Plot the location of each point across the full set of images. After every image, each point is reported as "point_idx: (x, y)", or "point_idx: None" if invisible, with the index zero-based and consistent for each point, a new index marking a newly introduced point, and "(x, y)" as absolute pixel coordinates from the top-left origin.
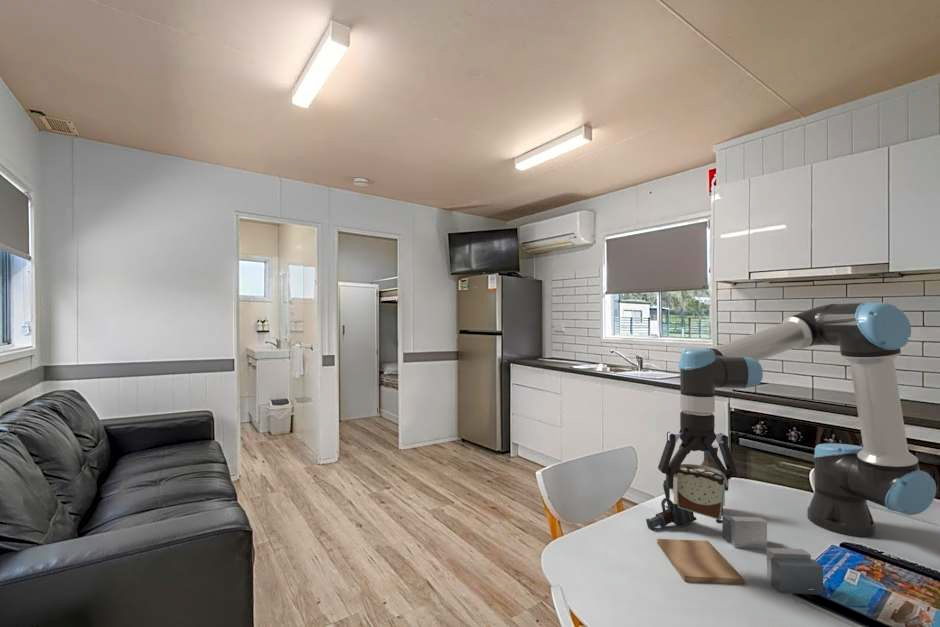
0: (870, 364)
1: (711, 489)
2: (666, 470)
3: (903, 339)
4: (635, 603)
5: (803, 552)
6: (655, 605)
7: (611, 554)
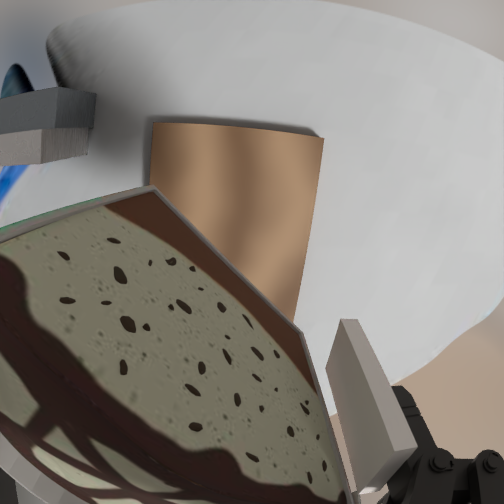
0: None
1: (123, 298)
2: (481, 472)
3: None
4: (462, 84)
5: None
6: (430, 67)
7: (429, 272)
